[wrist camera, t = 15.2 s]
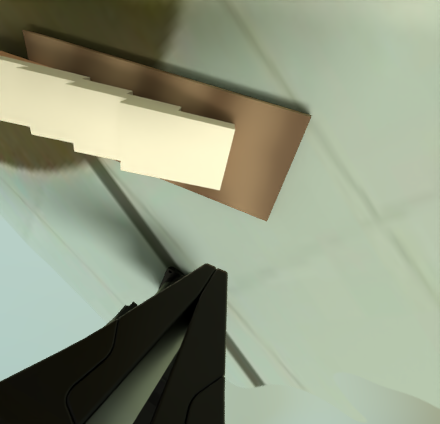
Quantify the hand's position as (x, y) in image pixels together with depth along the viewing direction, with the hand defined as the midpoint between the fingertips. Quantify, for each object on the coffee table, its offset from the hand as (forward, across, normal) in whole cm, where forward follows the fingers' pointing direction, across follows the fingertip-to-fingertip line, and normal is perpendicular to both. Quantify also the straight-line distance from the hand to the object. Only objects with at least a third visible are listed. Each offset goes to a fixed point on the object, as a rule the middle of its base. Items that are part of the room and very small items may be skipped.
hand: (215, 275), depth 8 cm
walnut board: (+13, +12, 0) cm, 18 cm away
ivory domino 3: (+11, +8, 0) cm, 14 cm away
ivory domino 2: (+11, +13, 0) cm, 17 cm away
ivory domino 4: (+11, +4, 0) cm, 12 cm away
